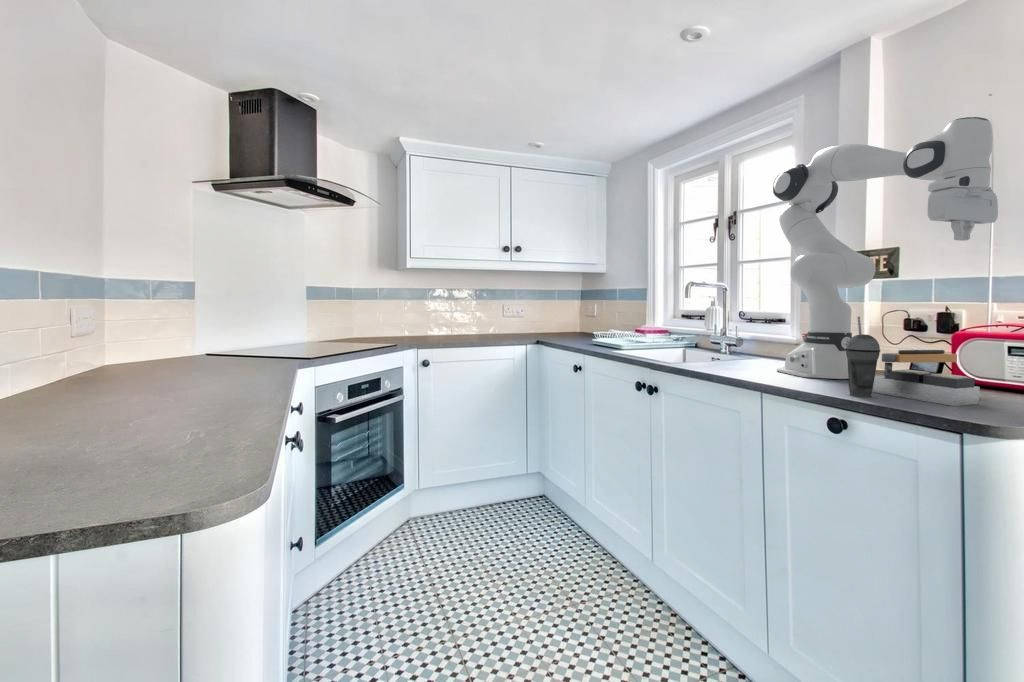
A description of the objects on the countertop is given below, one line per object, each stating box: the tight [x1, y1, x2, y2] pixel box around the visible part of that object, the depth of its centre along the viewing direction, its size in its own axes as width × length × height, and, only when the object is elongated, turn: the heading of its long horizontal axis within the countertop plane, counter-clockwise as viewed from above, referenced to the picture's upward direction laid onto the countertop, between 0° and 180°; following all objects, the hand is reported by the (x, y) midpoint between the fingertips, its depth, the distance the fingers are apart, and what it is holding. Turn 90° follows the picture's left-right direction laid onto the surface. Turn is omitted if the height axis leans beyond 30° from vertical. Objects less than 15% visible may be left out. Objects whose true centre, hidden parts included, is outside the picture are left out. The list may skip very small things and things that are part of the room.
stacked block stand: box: [872, 362, 981, 407], centre depth 123 cm, size 20×8×8 cm, turn 17°
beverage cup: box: [845, 316, 881, 398], centre depth 125 cm, size 7×7×20 cm
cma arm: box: [881, 349, 958, 364], centre depth 131 cm, size 18×4×3 cm, turn 95°
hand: (961, 240), depth 125 cm, fingers closed
